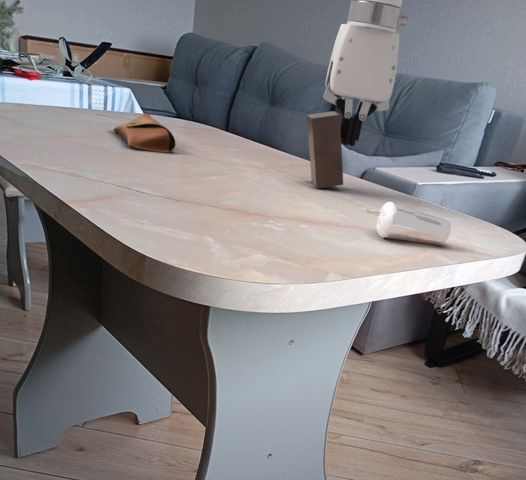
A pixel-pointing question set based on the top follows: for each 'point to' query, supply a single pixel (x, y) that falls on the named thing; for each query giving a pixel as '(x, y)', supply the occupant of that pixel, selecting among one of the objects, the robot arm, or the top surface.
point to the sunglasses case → (147, 134)
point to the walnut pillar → (325, 149)
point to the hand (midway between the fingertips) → (347, 144)
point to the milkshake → (410, 225)
